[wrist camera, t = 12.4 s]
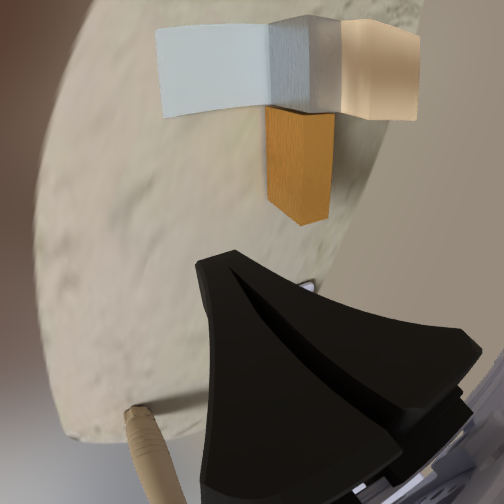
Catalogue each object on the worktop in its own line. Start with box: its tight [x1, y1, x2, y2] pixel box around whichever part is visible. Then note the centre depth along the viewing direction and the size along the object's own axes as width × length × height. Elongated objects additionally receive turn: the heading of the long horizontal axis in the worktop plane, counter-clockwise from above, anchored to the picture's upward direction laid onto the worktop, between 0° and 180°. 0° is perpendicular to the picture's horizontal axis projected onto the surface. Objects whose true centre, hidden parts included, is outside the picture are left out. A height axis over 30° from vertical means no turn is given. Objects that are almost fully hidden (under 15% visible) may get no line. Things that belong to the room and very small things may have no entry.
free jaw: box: [265, 15, 342, 226], centre depth 15 cm, size 12×2×4 cm, turn 2°
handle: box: [124, 406, 187, 504], centre depth 21 cm, size 5×6×15 cm
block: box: [341, 19, 420, 121], centre depth 13 cm, size 5×4×6 cm
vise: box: [155, 24, 271, 118], centre depth 13 cm, size 5×14×5 cm, turn 92°
